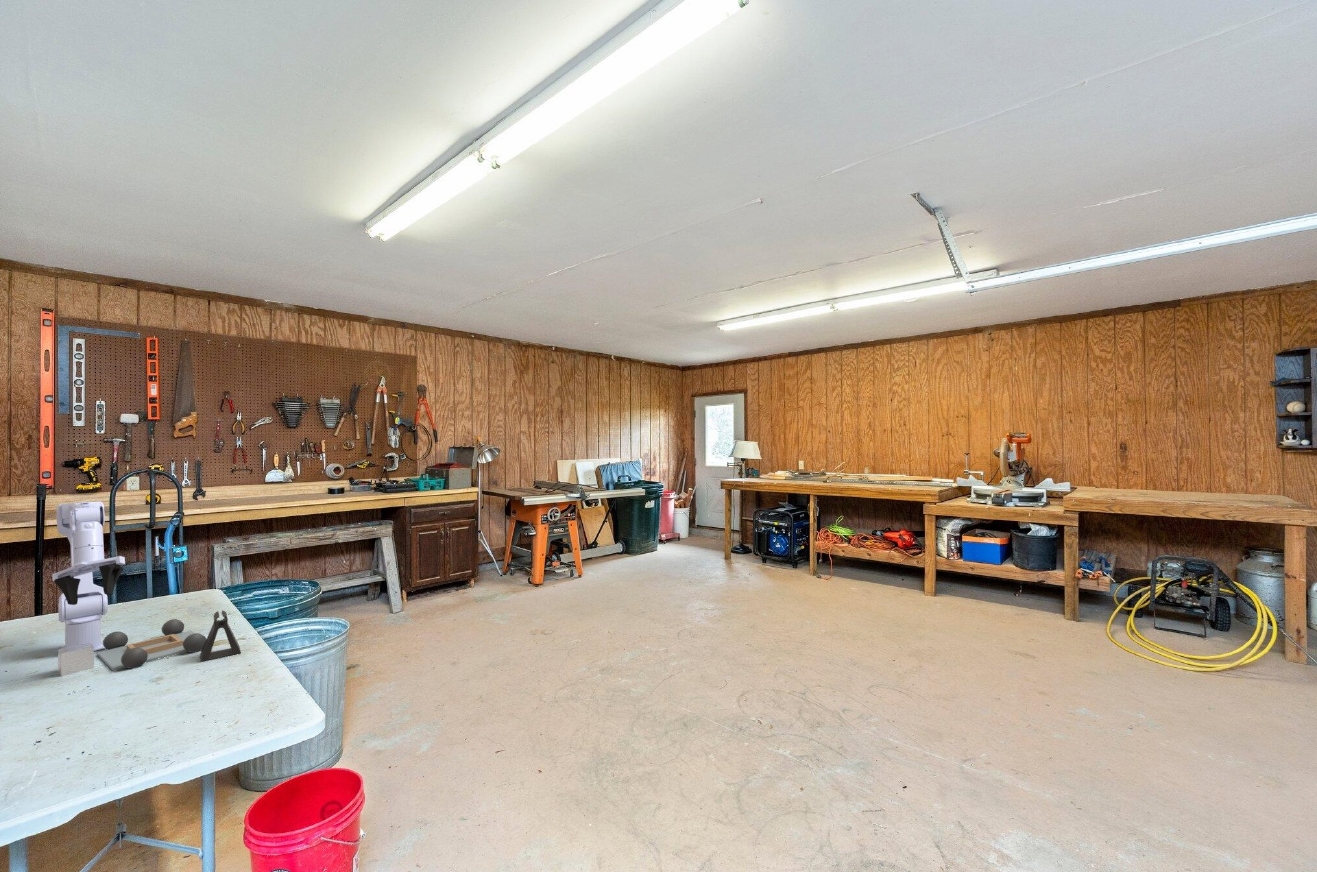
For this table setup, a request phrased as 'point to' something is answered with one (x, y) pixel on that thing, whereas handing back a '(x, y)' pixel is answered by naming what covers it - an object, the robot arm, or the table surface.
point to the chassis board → (149, 646)
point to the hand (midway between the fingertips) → (90, 599)
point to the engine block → (75, 659)
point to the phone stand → (208, 645)
